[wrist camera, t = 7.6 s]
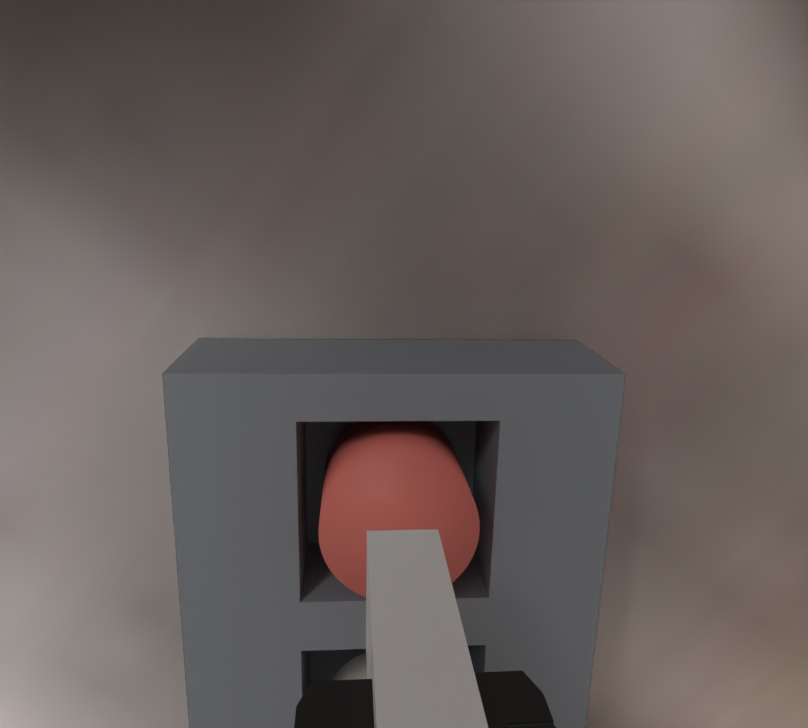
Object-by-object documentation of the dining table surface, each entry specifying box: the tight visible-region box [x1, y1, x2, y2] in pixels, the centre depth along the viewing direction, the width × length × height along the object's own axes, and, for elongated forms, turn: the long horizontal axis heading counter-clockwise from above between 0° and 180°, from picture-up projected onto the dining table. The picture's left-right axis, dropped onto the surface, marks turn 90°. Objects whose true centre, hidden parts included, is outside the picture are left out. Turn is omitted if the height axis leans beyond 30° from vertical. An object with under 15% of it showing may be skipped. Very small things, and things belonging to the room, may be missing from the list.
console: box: [162, 338, 626, 728], centre depth 22 cm, size 12×22×4 cm, turn 179°
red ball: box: [318, 421, 480, 597], centre depth 19 cm, size 4×4×4 cm
